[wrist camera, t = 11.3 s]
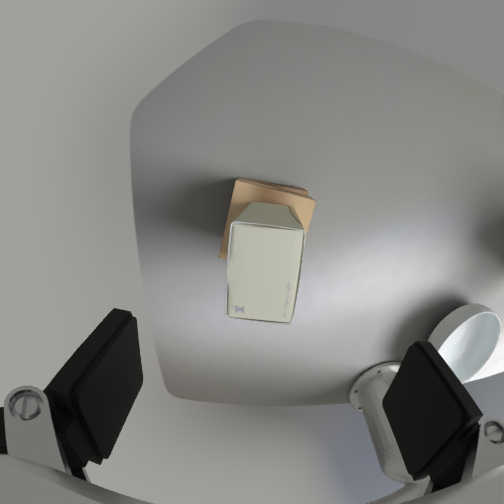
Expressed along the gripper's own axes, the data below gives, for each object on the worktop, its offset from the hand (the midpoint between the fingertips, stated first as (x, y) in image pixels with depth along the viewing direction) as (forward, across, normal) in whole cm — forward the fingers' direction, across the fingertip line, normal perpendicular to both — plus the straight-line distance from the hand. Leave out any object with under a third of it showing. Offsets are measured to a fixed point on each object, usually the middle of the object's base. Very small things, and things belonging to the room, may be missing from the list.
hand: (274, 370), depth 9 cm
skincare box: (+20, 0, 0) cm, 20 cm away
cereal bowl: (+28, -37, +16) cm, 49 cm away
